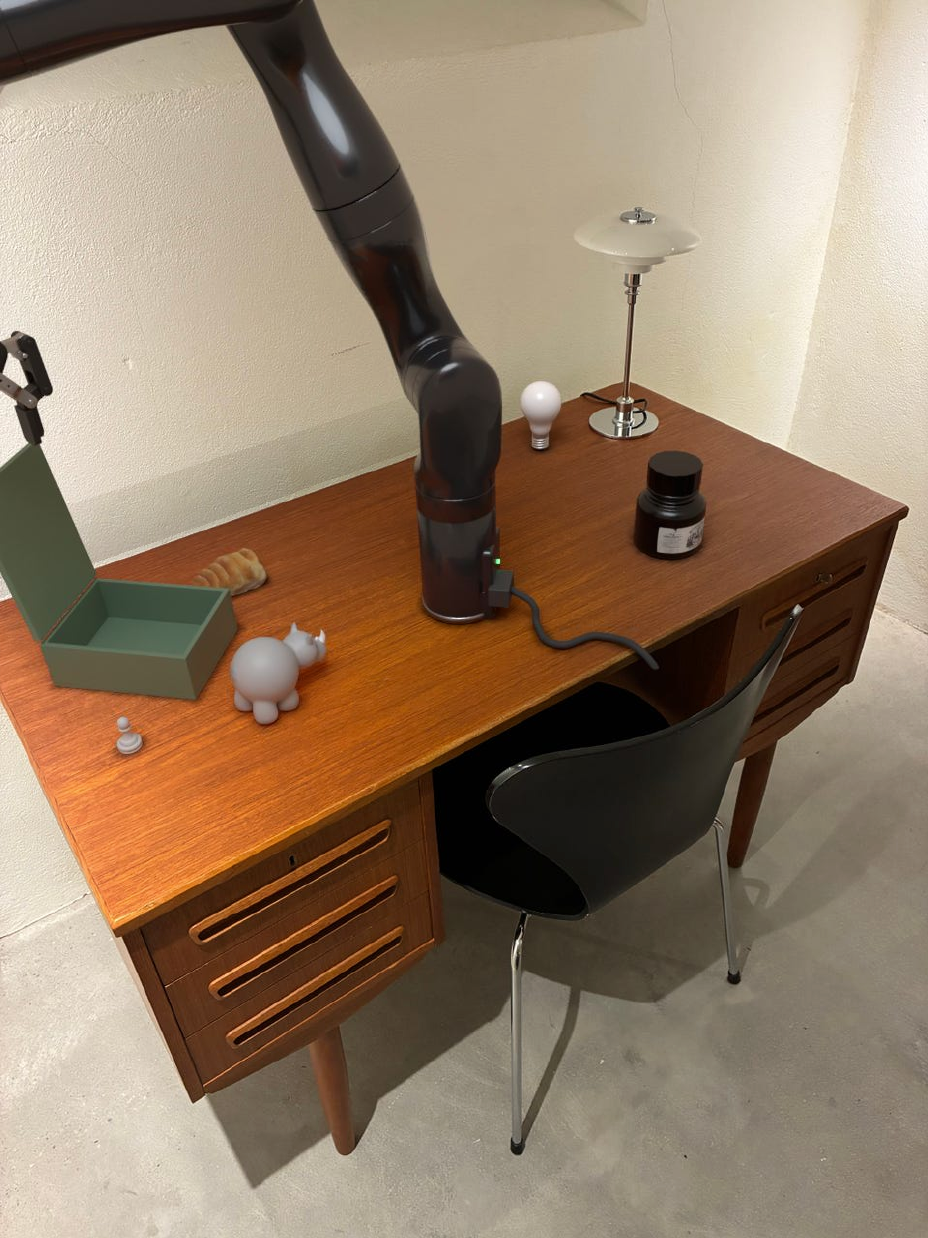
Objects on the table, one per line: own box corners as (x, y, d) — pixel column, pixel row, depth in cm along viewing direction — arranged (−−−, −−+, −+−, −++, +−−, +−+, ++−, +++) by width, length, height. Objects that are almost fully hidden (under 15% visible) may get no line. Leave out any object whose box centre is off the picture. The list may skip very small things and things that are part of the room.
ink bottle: (669, 570, 128) (678, 488, 120) (617, 543, 133) (623, 463, 126) (716, 541, 133) (727, 461, 125) (664, 517, 138) (672, 439, 131)
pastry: (206, 611, 124) (200, 586, 121) (182, 588, 128) (176, 564, 126) (271, 583, 128) (267, 558, 126) (246, 562, 133) (241, 537, 130)
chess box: (238, 628, 121) (229, 588, 117) (196, 700, 110) (185, 658, 107) (107, 617, 124) (95, 577, 120) (54, 686, 113) (39, 645, 110)
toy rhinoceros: (350, 683, 112) (342, 623, 107) (263, 737, 105) (250, 675, 100) (311, 655, 116) (302, 596, 111) (225, 705, 110) (210, 645, 104)
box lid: (37, 439, 109) (31, 439, 109) (-31, 499, 99) (-37, 499, 99) (97, 574, 120) (91, 574, 120) (41, 641, 109) (34, 642, 109)
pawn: (116, 742, 105) (106, 714, 103) (140, 734, 106) (132, 706, 104) (120, 757, 104) (110, 729, 101) (145, 750, 104) (136, 722, 102)
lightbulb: (517, 457, 154) (517, 390, 147) (522, 438, 159) (522, 373, 152) (558, 459, 153) (560, 392, 146) (562, 440, 158) (564, 374, 151)
